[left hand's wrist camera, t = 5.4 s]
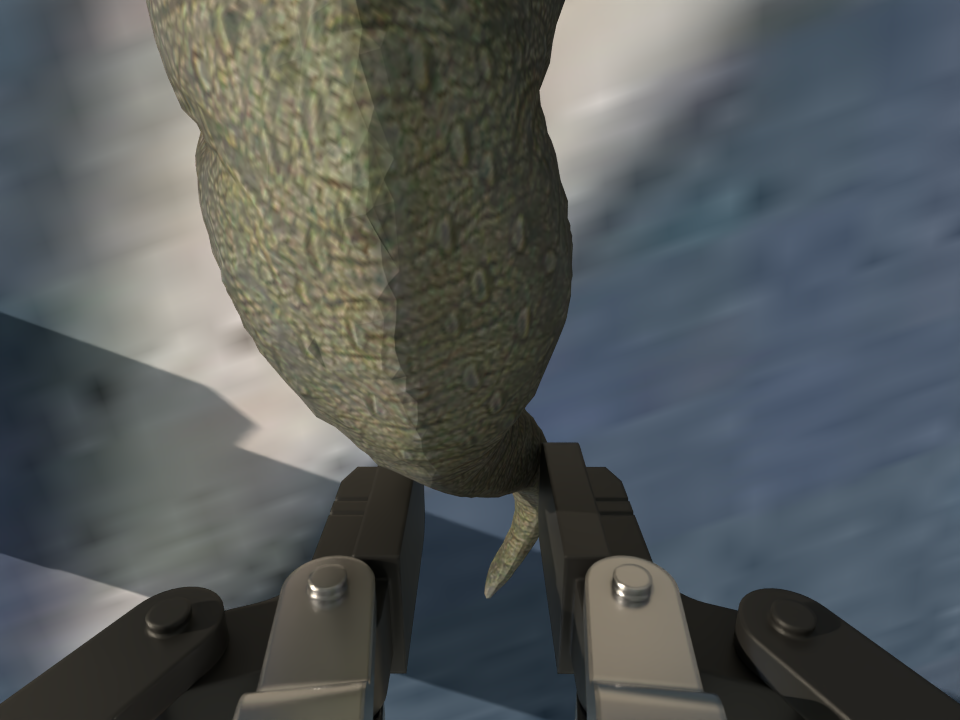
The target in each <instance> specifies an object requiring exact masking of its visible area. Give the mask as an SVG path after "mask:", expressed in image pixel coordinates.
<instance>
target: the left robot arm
mask: <svg viewBox="0 0 960 720" xmlns="http://www.w3.org/2000/svg"><path fill="white" fill-rule="evenodd" d="M424 528H425V503H424V485H423V484H421V483H418V482H416V481H414V480H412V479H410V478H407V477H405V476H403V475H401V474H399V473H396V472H394V471H392V470H389V469H387V468H384V467H381V466H378V467H357V468H356V469H355V470H354V471H352V472H351V473H350V474H349V475H348V476H347V477H346V478H345V479H344V480H342V482H341V484H340V487H339V490H338V492H337V495H336V500H335V501H334V503H333V506H332V508H331V511H330V515H329V516H328V519H327V522H326V524H325V527H324V530H323V532H322V535H321V538H320V540H319V543H318V546H317V548H316V551H315V554H314V556H313V559H312V561H310V562H308V563H305V564H303V565H302V566H300V567H299V568H297V569H296V570H295V571H293V572H292V573H291V574H290V575H289V576H288V577H287V579H286V580H285V582H284V583H283V586H282V588H281V592H280V595H278V596H276V597H274V598H271V599H269V600H266V601H263V602H259V603H255V604H251V605H247V606H243V607H238V608H234V609H230V610H226V611H224V606H223V602H222V600H221V598H220V597H219V596H218V595H217V594H216V593H215V592H213V591H211V590H209V589H206V588H200V587H182V588H176V589H172V590H168V591H165V592H162V593H160V594H157V595H155V596H153V597H151V598H149V599H147V600H145V601H143V602H142V603H140V604H139V605H137V606H136V607H135V608H133V609H132V610H130V611H129V612H128V613H126V614H125V615H123V616H122V617H121V618H119V619H118V620H116V621H115V622H114V623H112V624H111V625H109V626H108V627H107V628H105V629H104V630H102V631H101V632H100V633H98V634H97V635H96V636H94V637H93V638H91V639H90V640H89V641H87V642H86V643H84V644H83V645H82V646H80V647H79V648H77V649H76V650H75V651H73V652H72V653H70V654H69V655H68V656H66V657H65V658H64V659H62V660H61V661H59V662H58V663H57V664H55V665H54V666H52V667H51V668H50V669H48V670H47V671H45V672H44V673H43V674H41V675H40V676H38V677H37V678H36V679H34V680H33V681H32V682H30V683H29V684H27V685H26V686H25V687H23V688H22V689H20V690H19V691H18V692H16V693H15V694H13V695H12V696H11V697H9V698H8V699H6V700H5V701H4V702H2V703H1V704H0V720H385V708H384V701H385V698H386V695H387V689H388V683H389V677H390V673H406V671H407V664H408V656H409V648H410V641H411V633H412V625H413V618H414V610H415V602H416V595H417V587H418V580H419V572H420V564H421V557H422V549H423V541H424ZM538 529H539V541H540V549H541V556H542V563H543V571H544V578H545V585H546V592H547V600H548V607H549V614H550V621H551V629H552V636H553V643H554V651H555V658H556V665H557V672H558V674H574V676H575V682H576V688H577V695H576V708H575V720H960V704H959V703H958V702H956V701H955V700H954V699H952V698H951V697H949V696H948V695H947V694H945V693H944V692H942V691H941V690H940V689H938V688H937V687H935V686H934V685H933V684H931V683H930V682H929V681H927V680H926V679H924V678H923V677H922V676H920V675H919V674H917V673H916V672H915V671H913V670H912V669H910V668H909V667H908V666H906V665H905V664H903V663H902V662H901V661H899V660H898V659H896V658H895V657H894V656H892V655H891V654H890V653H888V652H887V651H885V650H884V649H883V648H881V647H880V646H878V645H877V644H876V643H874V642H873V641H871V640H870V639H869V638H867V637H866V636H864V635H863V634H862V633H860V632H859V631H858V630H856V629H855V628H853V627H852V626H851V625H849V624H848V623H846V622H845V621H844V620H842V619H841V618H839V617H838V616H837V615H835V614H834V613H832V612H831V611H830V610H828V609H827V608H826V607H824V606H822V605H821V604H819V603H818V602H816V601H814V600H812V599H810V598H808V597H806V596H804V595H801V594H799V593H795V592H792V591H788V590H783V589H774V588H768V589H759V590H755V591H752V592H750V593H749V594H747V595H746V596H745V597H744V598H743V599H742V600H741V602H740V604H739V609H738V611H737V610H733V609H729V608H725V607H720V606H716V605H712V604H708V603H704V602H701V601H697V600H695V599H692V598H690V597H687V596H685V595H683V594H681V593H680V592H679V588H678V586H677V583H676V582H675V580H674V579H673V577H672V576H671V575H670V574H669V573H668V572H667V571H665V570H664V569H663V568H661V567H660V566H658V565H657V564H655V563H653V562H652V559H651V556H650V554H649V551H648V549H647V546H646V543H645V541H644V538H643V536H642V533H641V530H640V528H639V525H638V523H637V520H636V517H635V515H633V510H632V507H631V504H630V502H629V501H628V497H627V494H626V491H625V489H624V486H623V484H622V481H621V480H620V479H618V478H617V477H616V476H615V475H614V474H613V473H612V472H611V471H609V470H608V469H607V468H606V467H586V465H585V462H584V459H583V455H582V452H581V449H580V445H579V443H542V444H541V454H540V477H539V502H538Z"/></svg>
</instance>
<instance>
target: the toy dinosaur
mask: <svg viewBox="0 0 960 720" xmlns="http://www.w3.org/2000/svg"><path fill="white" fill-rule="evenodd" d="M564 2H565V0H146V3H147V7H148V11H149V16H150V20H151V24H152V29H153V33H154V37H155V41H156V44H157V47H158V50H159V52H160V55H161V58H162V61H163V64H164V67H165V70H166V73H167V75H168V78H169V80H170V83H171V85H172V87H173V89H174V92H175V94H176V96H177V99H178V101H179V103H180V105H181V108H182V109H183V110H184V111H185V112H186V113H187V114H188V115H189V116H190V117H191V118H192V119H193V120H194V121H195V122H196V123H197V125H198V127H199V129H200V131H201V133H200V137H199V141H198V145H197V149H196V155H195V157H196V171H197V176H198V192H199V202H200V206H201V211H202V215H203V220H204V223H205V226H206V228H207V231H208V234H209V238H210V243H211V248H212V253H213V255H214V257H215V259H216V261H217V263H218V266H219V268H220V270H221V277H222V282H223V284H224V285H225V287H226V290H227V292H228V294H229V296H230V297H231V299H232V301H233V303H234V306H235V308H236V310H237V311H238V313H239V315H240V317H241V320H242V323H243V326H244V328H245V329H246V330H247V331H248V333H249V334H250V335H251V336H252V337H253V339H254V341H255V343H256V346H257V348H258V350H259V352H260V353H261V354H262V355H263V356H264V357H265V358H266V359H267V361H268V362H269V363H270V364H271V366H272V367H273V368H274V369H275V370H276V371H277V373H278V374H279V375H280V376H281V377H282V378H283V380H284V381H285V382H286V383H287V384H288V385H289V386H290V387H291V388H292V389H293V390H294V391H295V393H296V394H297V395H298V396H299V397H300V398H301V399H302V400H303V401H304V403H305V404H306V405H307V406H308V407H309V409H310V410H311V411H312V412H313V413H314V414H315V416H316V417H318V418H320V419H321V420H323V421H325V422H327V423H329V424H331V425H333V426H335V427H336V428H337V429H338V430H340V431H341V432H342V433H343V434H344V435H346V436H347V437H348V438H349V439H350V440H351V441H352V442H353V443H354V444H355V445H356V446H357V447H358V448H360V449H361V450H362V451H364V452H365V453H366V454H368V455H369V456H370V457H371V458H372V459H373V460H374V461H375V462H376V464H377V465H378V466H381V467H384V468H387V469H389V470H392V471H394V472H396V473H399V474H401V475H403V476H405V477H407V478H410V479H412V480H414V481H416V482H418V483H421V484H423V485H425V486H427V487H430V488H432V489H435V490H438V491H441V492H443V493H447V494H451V495H455V496H459V497H469V498H473V497H484V498H491V497H501V496H504V495H507V494H511V493H513V496H514V499H515V513H514V517H513V521H512V525H511V528H510V530H509V532H508V533H507V535H506V538H505V540H504V542H503V544H502V545H501V547H500V549H499V550H498V552H497V554H496V555H495V557H494V559H493V561H492V563H491V565H490V568H489V571H488V575H487V579H486V584H485V596H486V598H491V597H492V596H493V595H494V594H495V593H496V592H497V590H498V589H500V588H501V587H502V586H503V585H504V584H505V583H506V582H507V581H508V580H509V579H510V578H511V576H512V575H513V573H514V572H515V570H516V569H517V568H518V566H519V565H520V564H521V563H522V561H523V560H524V558H525V557H526V555H527V554H528V553H529V551H530V550H531V548H532V547H533V545H534V544H535V542H536V541H537V539H538V537H539V529H538V502H539V477H540V454H541V444H542V443H547V441H546V439H545V436H544V434H543V432H542V430H541V429H540V428H539V426H538V425H537V423H536V422H535V420H534V418H533V417H532V416H531V415H530V414H529V413H528V412H527V411H526V410H525V407H526V405H527V404H528V403H529V402H530V401H531V399H532V398H533V397H534V396H535V394H536V391H537V389H538V386H539V384H540V381H541V379H542V377H543V374H544V372H545V370H546V367H547V365H548V363H549V360H550V358H551V356H552V353H553V351H554V349H555V346H556V344H557V342H558V339H559V337H560V334H561V332H562V329H563V327H564V324H565V321H566V318H567V313H568V307H569V302H570V297H571V280H572V276H573V275H572V249H573V244H572V234H571V231H570V223H569V220H568V200H567V197H566V194H565V191H564V189H563V186H562V183H561V180H560V175H559V169H558V163H557V157H556V153H555V150H554V147H553V144H552V141H551V139H550V137H549V135H548V132H547V126H546V121H545V116H544V113H543V110H542V107H541V103H540V93H539V90H540V88H541V85H542V82H543V80H544V77H545V74H546V72H547V69H548V67H549V64H550V58H551V51H552V43H553V38H554V33H555V29H556V24H557V21H558V19H559V16H560V13H561V10H562V7H563V4H564Z"/></svg>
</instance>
